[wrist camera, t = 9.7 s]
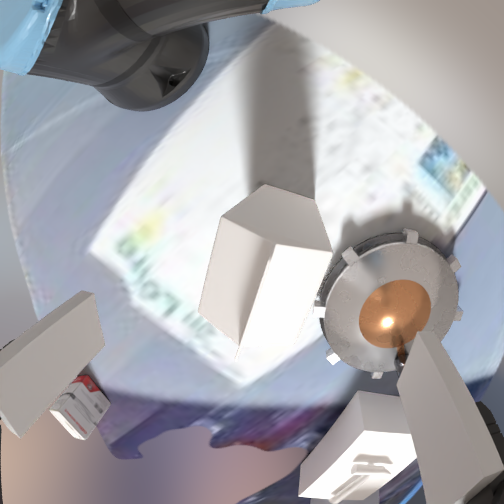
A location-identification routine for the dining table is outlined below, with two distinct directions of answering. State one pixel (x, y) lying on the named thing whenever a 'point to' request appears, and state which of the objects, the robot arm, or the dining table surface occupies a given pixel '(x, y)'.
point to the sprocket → (388, 303)
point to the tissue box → (359, 450)
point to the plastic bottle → (373, 500)
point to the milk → (265, 268)
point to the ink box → (80, 407)
